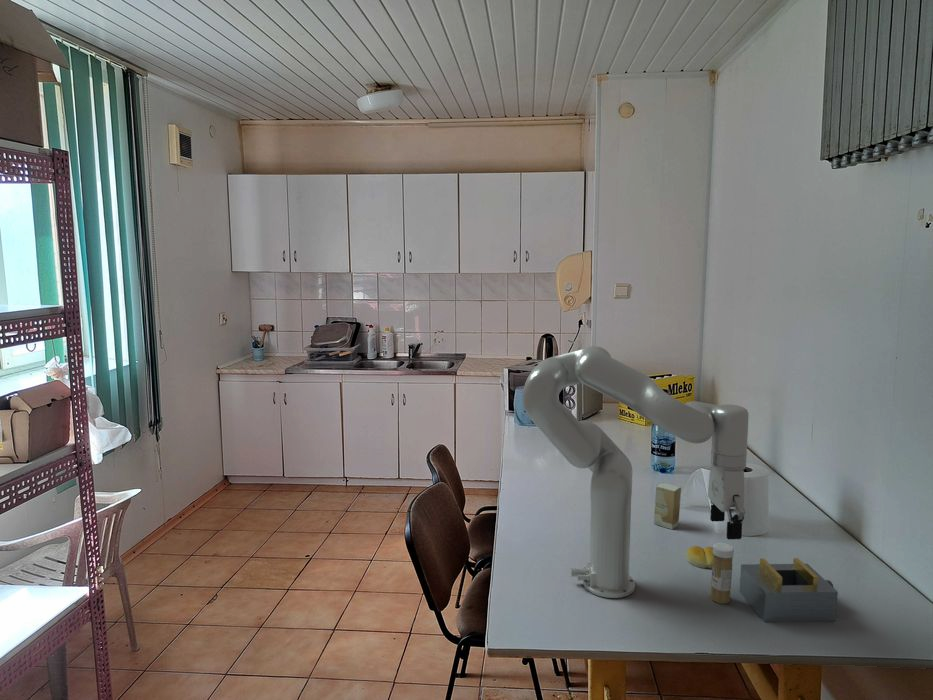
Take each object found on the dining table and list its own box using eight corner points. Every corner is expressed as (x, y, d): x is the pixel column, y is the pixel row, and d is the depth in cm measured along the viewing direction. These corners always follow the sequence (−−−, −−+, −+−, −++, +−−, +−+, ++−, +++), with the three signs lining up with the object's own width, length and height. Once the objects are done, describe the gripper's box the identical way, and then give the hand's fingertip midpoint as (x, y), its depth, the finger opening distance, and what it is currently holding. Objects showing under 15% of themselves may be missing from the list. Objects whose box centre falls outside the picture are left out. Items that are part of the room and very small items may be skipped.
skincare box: (653, 524, 198) (654, 485, 196) (659, 519, 201) (661, 481, 199) (673, 530, 193) (674, 490, 192) (679, 525, 197) (681, 486, 195)
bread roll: (684, 553, 179) (685, 539, 179) (719, 557, 177) (720, 543, 177) (686, 567, 172) (687, 553, 171) (723, 571, 169) (724, 557, 169)
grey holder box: (763, 621, 146) (766, 582, 145) (739, 591, 159) (741, 554, 158) (844, 620, 146) (847, 581, 145) (813, 590, 159) (816, 553, 158)
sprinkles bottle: (706, 595, 158) (709, 542, 156) (725, 593, 158) (727, 541, 156) (715, 605, 153) (718, 551, 151) (734, 604, 154) (737, 550, 152)
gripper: (698, 447, 159) (696, 514, 161) (727, 472, 142) (723, 546, 144) (729, 447, 159) (726, 514, 161) (761, 471, 142) (757, 546, 144)
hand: (725, 529), depth 153 cm, fingers open, 9 cm apart
